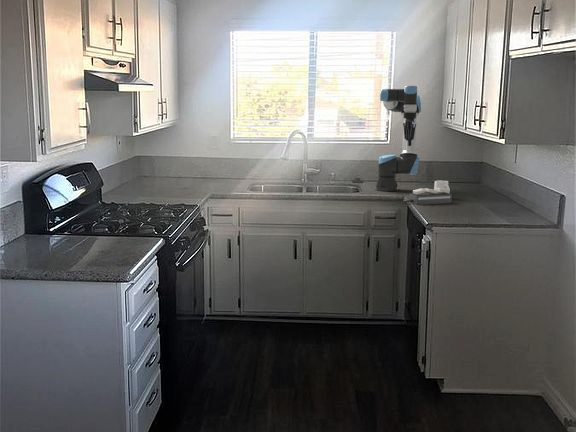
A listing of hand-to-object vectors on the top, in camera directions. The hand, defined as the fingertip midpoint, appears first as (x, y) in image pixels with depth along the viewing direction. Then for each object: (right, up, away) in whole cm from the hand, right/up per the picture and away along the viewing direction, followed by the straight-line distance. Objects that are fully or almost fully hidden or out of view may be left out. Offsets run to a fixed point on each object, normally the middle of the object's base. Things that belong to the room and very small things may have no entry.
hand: (408, 151), depth 391 cm
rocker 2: (+12, -25, -8) cm, 28 cm away
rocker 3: (+19, -24, -5) cm, 31 cm away
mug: (+23, -28, +9) cm, 38 cm away
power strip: (+9, -31, -7) cm, 33 cm away
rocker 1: (+5, -25, -10) cm, 27 cm away
